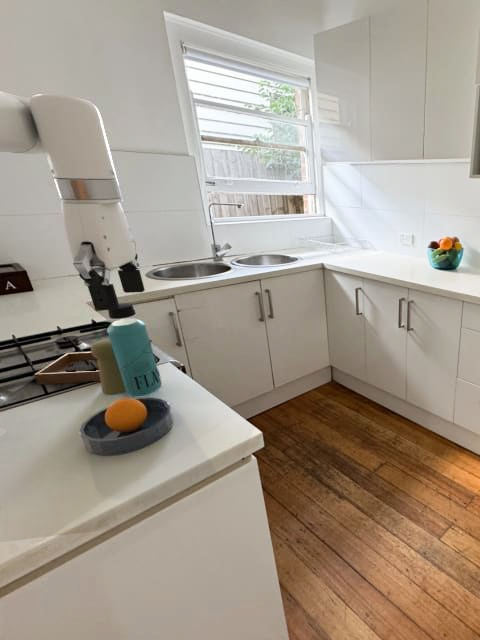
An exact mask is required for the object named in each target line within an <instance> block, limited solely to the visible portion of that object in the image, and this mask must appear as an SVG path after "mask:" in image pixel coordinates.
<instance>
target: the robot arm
mask: <svg viewBox="0 0 480 640" xmlns="http://www.w3.org/2000/svg"><path fill="white" fill-rule="evenodd" d="M0 152H3V153H12V154H26V155H33V154H34V155H35V154H39V155H40V154H45V158H46V162H47V164H48V167H49V170H50V173H51V176H52V179H53V183H54V186H55V189H56V191H57V194H58V197H59V201H60V203H61V205H60V206H61V214H62V222H63V226H64V230H65V235H66V240H67V243H68V247H69V251H70V255H71V258H72V265H73V267H74V268H75V270H76V271H77V272H78V276H79V277H80V279H82V280H83V283H84V285H85V287H87V289H88V292H89V295H90V297H91V301H92V304H93V307H94V309H95V310H96V311H108V310H115V309H118V308H119V307H120V306H119V299H118V297H117V292H116V289H115V286H114V284H113V283H110V281H111V272H112V271H113V270H115V269H118V270H117V273H118V278H119V280H120V284H121V287H122V291H123V293H125V294H127V293H128V294H129V293H131V294H132V293H143V292H145V290H146V288H145V285H144V281H143V278H142V274H141V270H140V267H141V266H140V263H139V262H138V257H139V256H138V254H137V247H136V242H135V240H133V236H132V233H131V229H130V226H129V223H128V221H127V217H126V214H125V212H124V210H123V209H124V208H123V207H122V204H121V203H123V202H124V200H123V199H124V198H123V195H122V191H121V188H120V184H119V181H118V175H117V173H116V169H115V166H114V162H113V157H112V153H111V150H110V146H109V143H108V139H107V135H106V132H105V127H104V123H103V120H102V117H101V112H100V111H99V109H98V108H97V106H96V105H95V104H94V103H93V102H92V101H90V100H87V99H85V98H82V97H81V98H80V97H76V96H71V95H64V94H54V93H53V94H52V93H39V94H35V95H33V96H31V97H25V96H22V95H21V96H20V95H16V94H12V93H9V92H4V91H2V90H0ZM100 273H101V275H100Z"/></svg>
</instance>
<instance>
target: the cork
mask: <svg viewBox="0 0 480 640" xmlns="http://www.w3.org/2000/svg"><path fill="white" fill-rule="evenodd" d="M90 352H91V353H92V355H93V356H94V357H95V358H97V360H98V367H99V373H100V380H101V381H100V385H101V393H102V392H103V393H102V394H104V395H107V396H113V395H119V394H124V393H127V392H126V389H125V386H124V383H123V381H122V378H121V377H122V376H121V373H120V370H119V366H118V363H117V360H116V357H115V353H114V350H113V347H112V344H111V341H110V338H107V339H105V338H104V339H101V340H98V341H95V342H94V343H93V344H92V345H91V346H90Z"/></svg>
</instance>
